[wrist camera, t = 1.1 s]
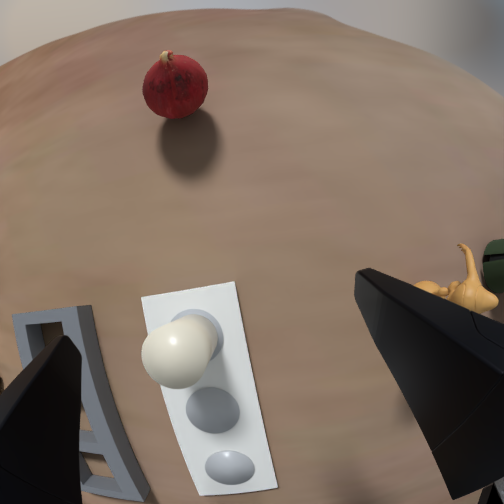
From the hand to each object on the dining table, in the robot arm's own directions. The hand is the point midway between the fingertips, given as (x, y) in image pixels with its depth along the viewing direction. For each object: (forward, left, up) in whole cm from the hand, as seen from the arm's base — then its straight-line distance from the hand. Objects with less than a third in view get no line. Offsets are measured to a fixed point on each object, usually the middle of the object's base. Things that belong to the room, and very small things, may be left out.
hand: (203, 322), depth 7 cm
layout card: (-9, +3, -15) cm, 17 cm away
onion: (+19, +2, -15) cm, 24 cm away
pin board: (-9, +17, -15) cm, 24 cm away
